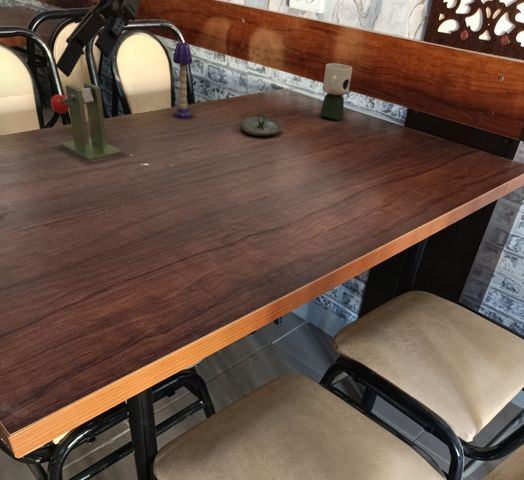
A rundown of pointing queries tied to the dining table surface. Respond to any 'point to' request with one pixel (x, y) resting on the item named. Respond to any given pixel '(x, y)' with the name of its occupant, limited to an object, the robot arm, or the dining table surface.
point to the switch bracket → (82, 143)
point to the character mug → (335, 89)
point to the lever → (61, 102)
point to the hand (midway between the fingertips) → (81, 61)
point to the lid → (260, 126)
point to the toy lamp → (183, 76)
